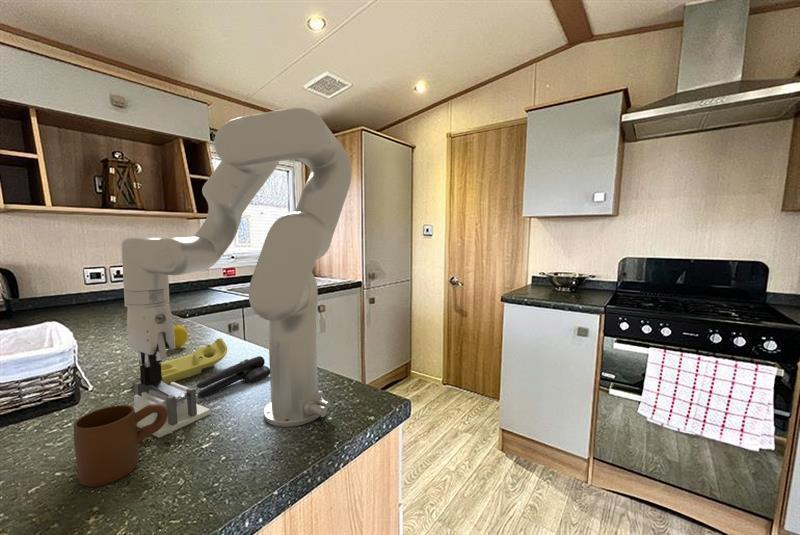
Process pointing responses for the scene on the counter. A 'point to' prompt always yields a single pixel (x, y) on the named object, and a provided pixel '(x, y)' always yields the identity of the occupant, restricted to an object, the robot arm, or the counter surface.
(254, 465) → the counter surface
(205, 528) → the counter surface
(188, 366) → the plastic component
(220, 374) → the can opener
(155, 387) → the grey long flat bar
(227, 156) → the robot arm
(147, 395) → the heatsink board
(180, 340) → the lemon
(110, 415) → the mug
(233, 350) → the counter surface
